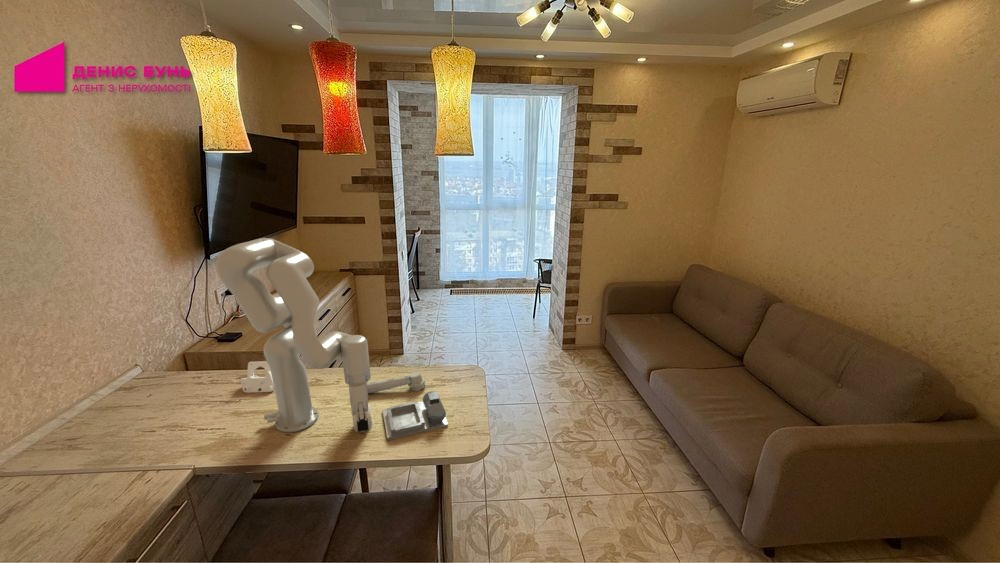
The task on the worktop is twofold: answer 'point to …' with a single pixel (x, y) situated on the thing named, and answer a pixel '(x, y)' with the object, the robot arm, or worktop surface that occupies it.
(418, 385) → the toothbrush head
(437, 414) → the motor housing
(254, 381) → the mounting bracket
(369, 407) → the cylinder
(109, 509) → the worktop surface
